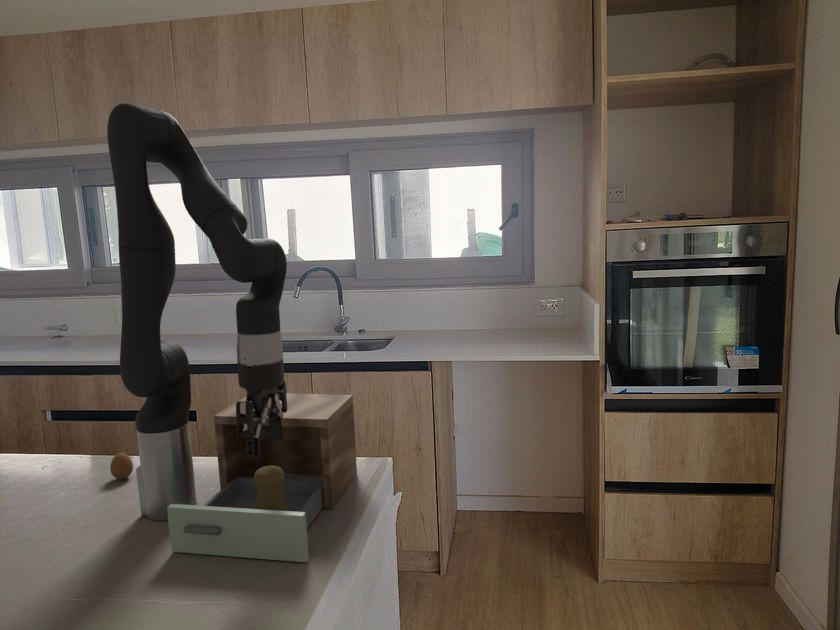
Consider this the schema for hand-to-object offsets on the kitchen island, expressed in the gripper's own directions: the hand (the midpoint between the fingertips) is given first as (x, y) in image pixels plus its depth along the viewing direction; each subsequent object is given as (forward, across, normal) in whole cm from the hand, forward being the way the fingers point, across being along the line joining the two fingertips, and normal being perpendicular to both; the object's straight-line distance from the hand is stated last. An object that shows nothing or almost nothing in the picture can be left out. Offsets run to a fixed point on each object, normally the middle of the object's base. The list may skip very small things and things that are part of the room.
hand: (265, 448), depth 101 cm
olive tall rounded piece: (+15, 0, +1) cm, 15 cm away
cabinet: (+16, -18, -4) cm, 24 cm away
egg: (+17, -18, -44) cm, 50 cm away
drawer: (+16, -2, -2) cm, 16 cm away
